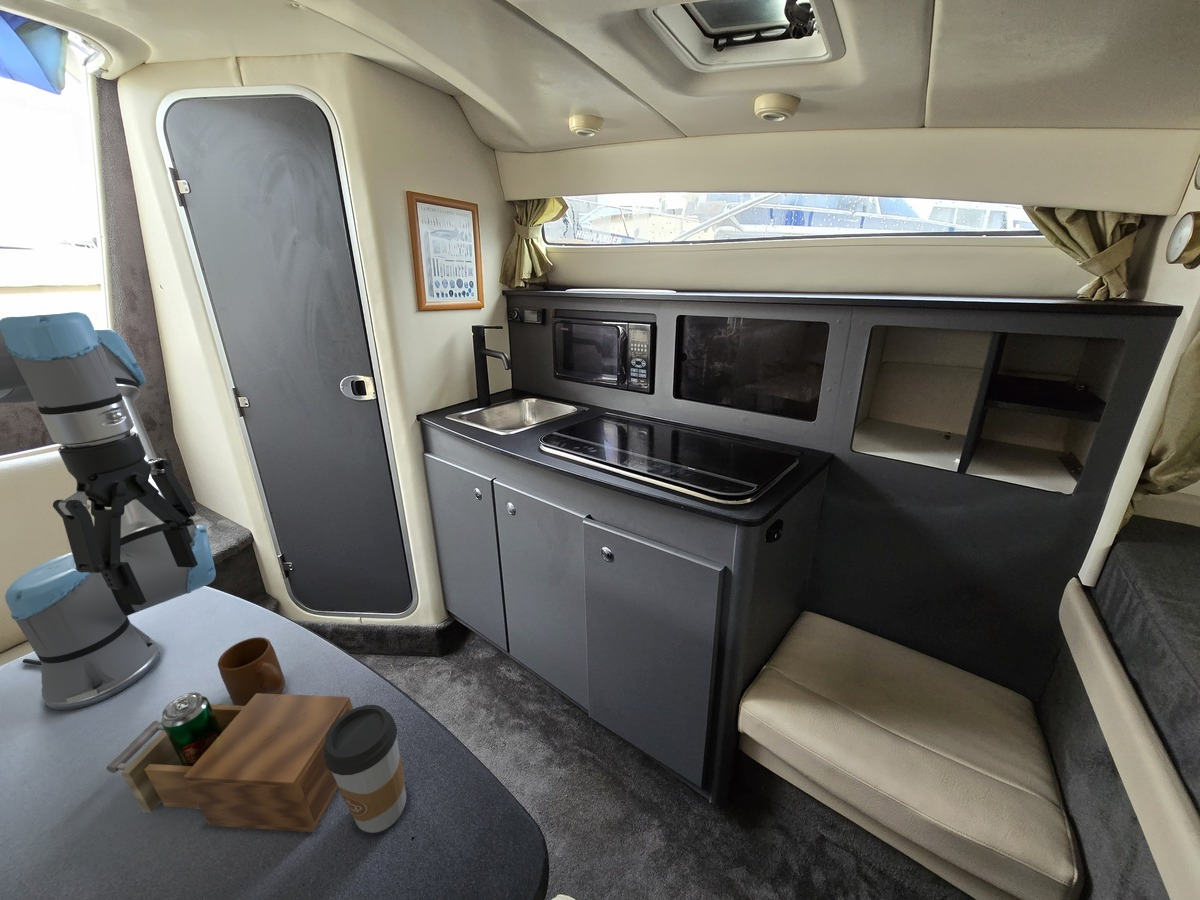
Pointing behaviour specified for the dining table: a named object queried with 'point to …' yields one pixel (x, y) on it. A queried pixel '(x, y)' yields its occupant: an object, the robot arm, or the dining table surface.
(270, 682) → the mug
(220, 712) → the drawer
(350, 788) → the coffee cup
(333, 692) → the dining table surface
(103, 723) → the dining table surface
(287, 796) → the cabinet
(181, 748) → the soda can
